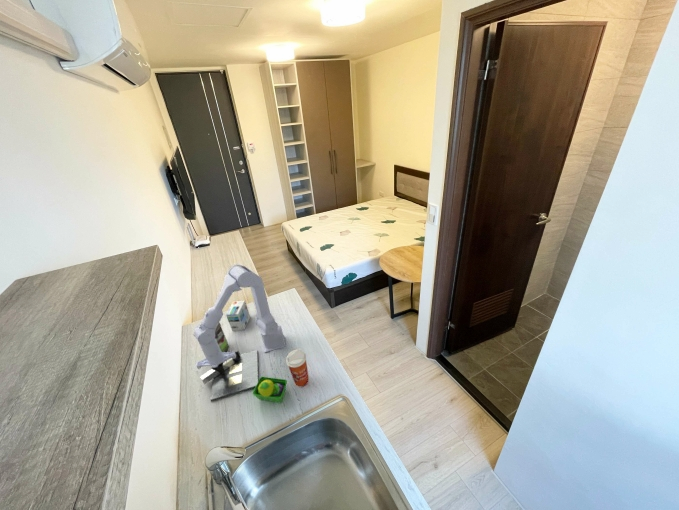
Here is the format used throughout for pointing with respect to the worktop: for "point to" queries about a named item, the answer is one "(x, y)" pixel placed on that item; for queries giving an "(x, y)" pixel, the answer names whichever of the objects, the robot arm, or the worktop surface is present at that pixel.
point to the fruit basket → (270, 389)
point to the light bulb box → (238, 315)
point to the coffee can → (221, 339)
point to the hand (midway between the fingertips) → (223, 373)
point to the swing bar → (213, 373)
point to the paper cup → (298, 367)
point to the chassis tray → (237, 376)
